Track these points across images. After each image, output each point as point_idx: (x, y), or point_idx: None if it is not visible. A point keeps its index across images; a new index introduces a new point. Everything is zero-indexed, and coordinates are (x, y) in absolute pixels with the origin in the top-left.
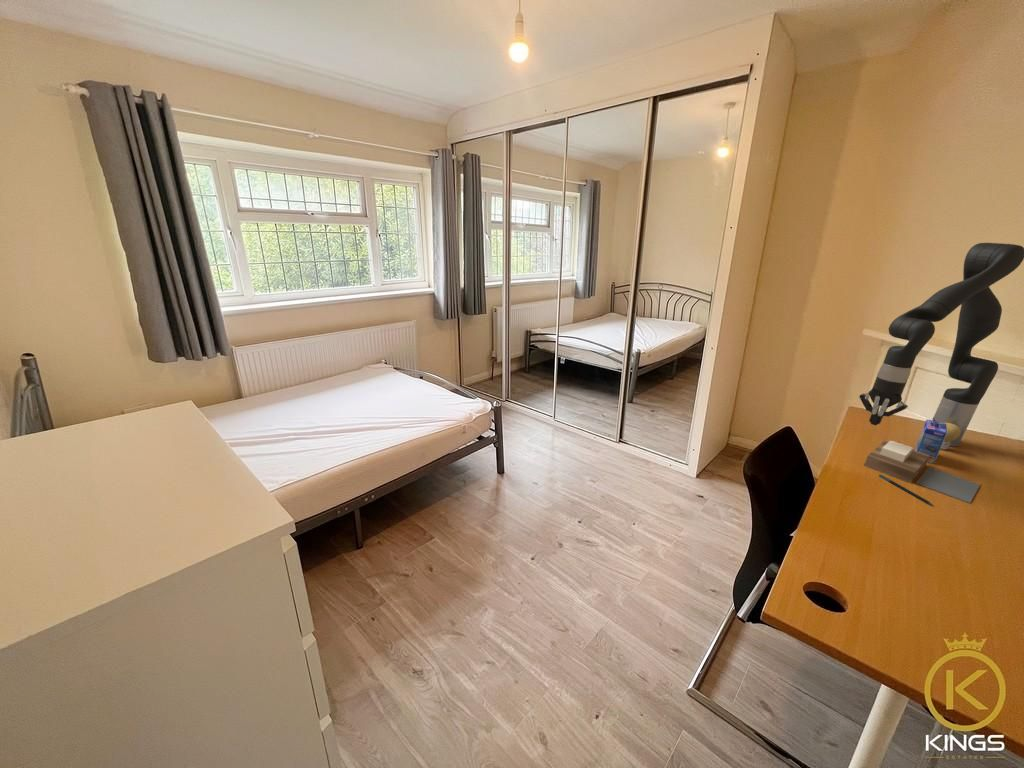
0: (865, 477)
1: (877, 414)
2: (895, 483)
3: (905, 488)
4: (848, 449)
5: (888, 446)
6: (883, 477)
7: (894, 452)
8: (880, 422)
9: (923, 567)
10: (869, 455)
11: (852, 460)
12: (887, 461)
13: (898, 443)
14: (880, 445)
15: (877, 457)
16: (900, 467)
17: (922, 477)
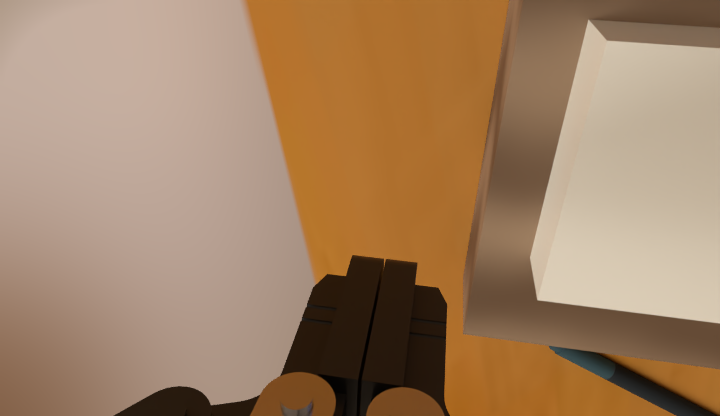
0: (492, 393)
1: (354, 411)
2: (630, 390)
3: (676, 411)
4: (327, 99)
5: (585, 237)
6: (571, 360)
7: (632, 308)
8: (445, 321)
9: None
10: (471, 327)
11: (396, 256)
12: (584, 338)
13: (691, 68)
14: (521, 56)
15: (520, 321)
16: (665, 360)
17: None
